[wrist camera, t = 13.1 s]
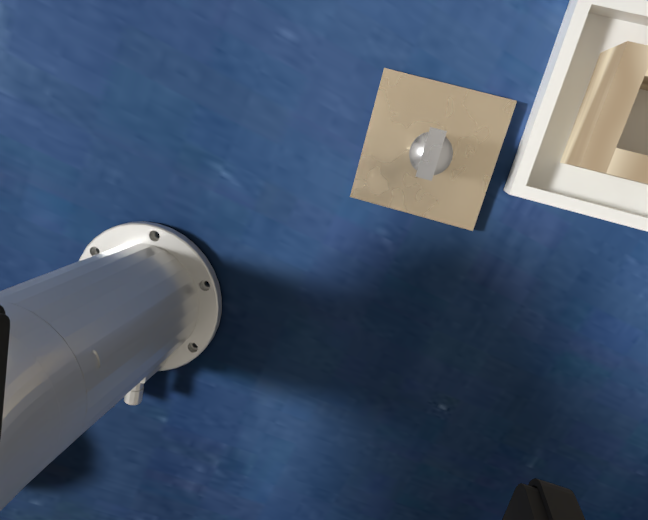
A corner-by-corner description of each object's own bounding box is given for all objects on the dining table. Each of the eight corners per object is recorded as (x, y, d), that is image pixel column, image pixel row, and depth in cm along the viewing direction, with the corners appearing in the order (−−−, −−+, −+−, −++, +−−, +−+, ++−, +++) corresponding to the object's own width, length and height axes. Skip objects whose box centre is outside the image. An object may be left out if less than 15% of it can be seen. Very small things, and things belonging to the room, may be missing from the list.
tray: (689, 240, 35) (709, 248, 32) (503, 190, 36) (509, 194, 34) (780, 43, 31) (810, 36, 29) (571, -4, 33) (582, -14, 30)
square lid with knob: (471, 228, 37) (480, 246, 31) (351, 195, 38) (339, 206, 32) (514, 101, 35) (533, 95, 29) (384, 69, 35) (378, 57, 30)
